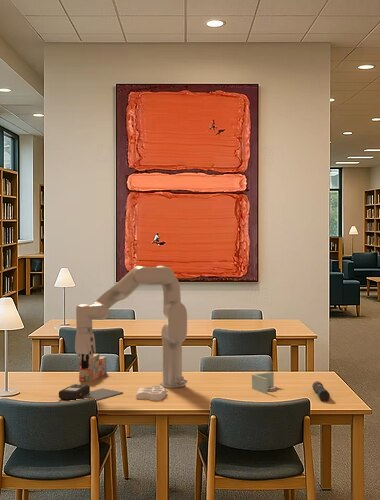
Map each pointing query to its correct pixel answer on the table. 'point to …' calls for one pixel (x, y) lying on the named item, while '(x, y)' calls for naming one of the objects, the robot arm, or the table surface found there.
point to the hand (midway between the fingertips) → (85, 368)
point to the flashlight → (321, 391)
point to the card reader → (74, 391)
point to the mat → (101, 394)
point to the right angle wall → (263, 382)
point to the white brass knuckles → (151, 392)
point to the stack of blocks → (93, 368)
